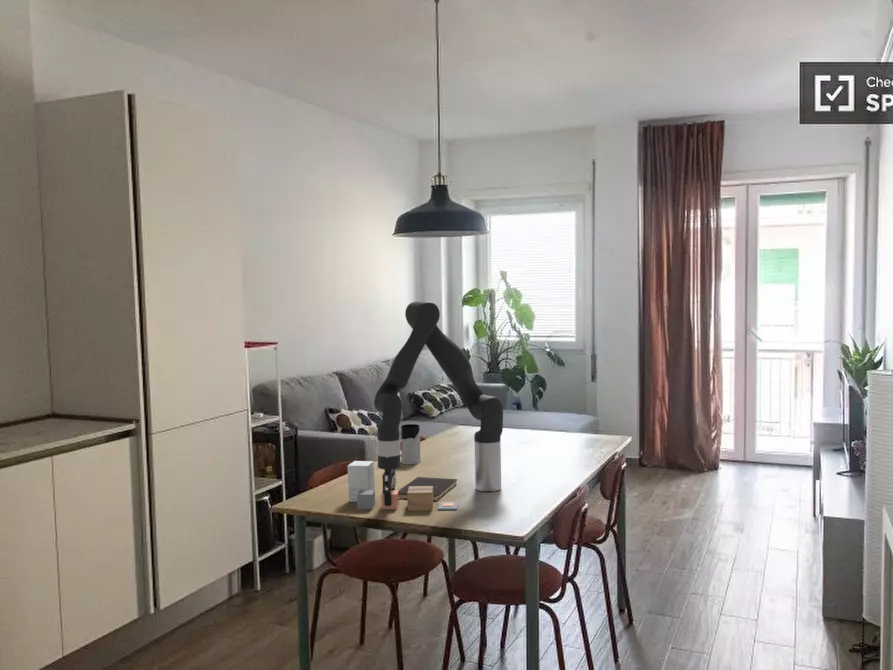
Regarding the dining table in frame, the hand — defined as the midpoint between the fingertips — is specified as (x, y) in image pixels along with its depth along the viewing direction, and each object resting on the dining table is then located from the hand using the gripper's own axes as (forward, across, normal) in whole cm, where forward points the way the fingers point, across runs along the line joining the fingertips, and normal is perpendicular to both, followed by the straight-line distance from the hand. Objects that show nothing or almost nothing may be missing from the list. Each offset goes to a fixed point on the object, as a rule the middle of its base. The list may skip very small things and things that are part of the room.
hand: (389, 501), depth 249 cm
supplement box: (+2, -9, -11) cm, 14 cm away
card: (+2, 0, +19) cm, 19 cm away
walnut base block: (+2, 0, +10) cm, 10 cm away
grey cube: (+2, 0, -8) cm, 8 cm away
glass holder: (+2, -66, -3) cm, 66 cm away
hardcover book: (+2, -20, +10) cm, 23 cm away
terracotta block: (+2, 0, 0) cm, 2 cm away
